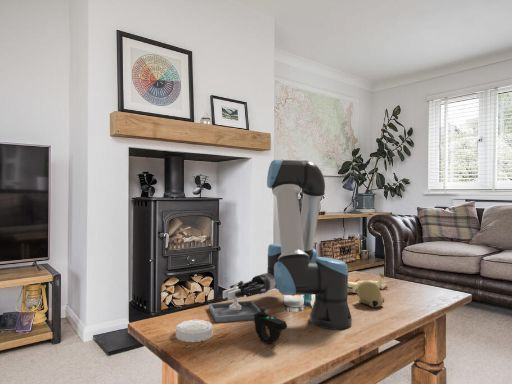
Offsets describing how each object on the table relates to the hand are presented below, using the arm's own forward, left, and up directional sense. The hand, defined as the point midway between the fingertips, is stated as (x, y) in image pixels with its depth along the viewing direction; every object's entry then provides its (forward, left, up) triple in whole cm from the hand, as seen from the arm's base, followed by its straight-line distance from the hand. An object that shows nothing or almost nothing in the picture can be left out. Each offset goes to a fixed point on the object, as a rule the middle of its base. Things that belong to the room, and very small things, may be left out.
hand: (226, 295), depth 138 cm
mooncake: (-14, +14, -9) cm, 21 cm away
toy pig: (+1, -63, -8) cm, 64 cm away
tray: (+3, -4, -8) cm, 10 cm away
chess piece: (+3, -4, -6) cm, 8 cm away
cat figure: (+22, -75, -9) cm, 78 cm away
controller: (-26, -8, -8) cm, 28 cm away
